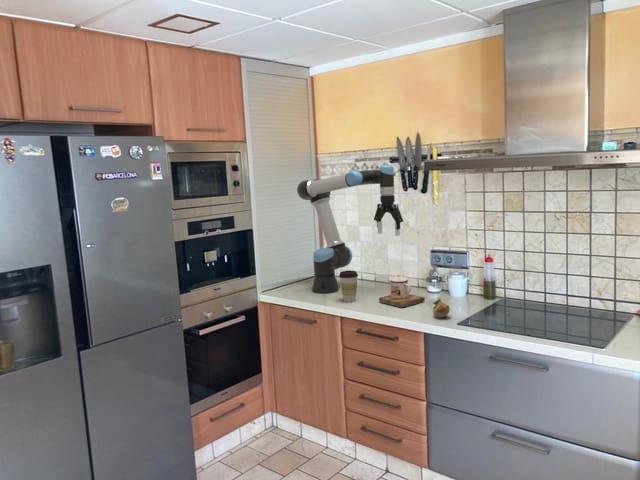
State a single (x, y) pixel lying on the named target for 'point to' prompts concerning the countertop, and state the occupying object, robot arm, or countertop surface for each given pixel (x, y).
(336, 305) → the countertop surface
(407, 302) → the walnut board
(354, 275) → the coffee cup
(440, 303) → the onion
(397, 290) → the teacup with lid
